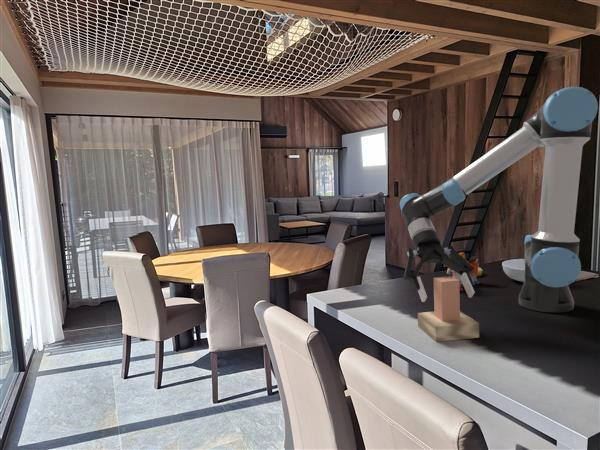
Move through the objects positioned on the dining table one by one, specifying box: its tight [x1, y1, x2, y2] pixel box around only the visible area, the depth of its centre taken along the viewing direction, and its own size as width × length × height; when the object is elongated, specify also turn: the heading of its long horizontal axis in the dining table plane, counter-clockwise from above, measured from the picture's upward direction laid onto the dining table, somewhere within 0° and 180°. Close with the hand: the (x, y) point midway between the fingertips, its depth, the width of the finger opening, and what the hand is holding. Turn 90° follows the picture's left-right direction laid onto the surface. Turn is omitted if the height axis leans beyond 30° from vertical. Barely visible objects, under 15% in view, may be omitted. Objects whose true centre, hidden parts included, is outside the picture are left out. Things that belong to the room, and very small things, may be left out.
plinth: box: [417, 311, 480, 343], centre depth 112 cm, size 12×12×4 cm
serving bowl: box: [501, 258, 525, 283], centre depth 159 cm, size 21×21×7 cm
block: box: [433, 275, 461, 321], centre depth 112 cm, size 5×5×11 cm
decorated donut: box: [476, 267, 484, 278], centre depth 175 cm, size 10×11×4 cm
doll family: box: [446, 252, 480, 292], centre depth 158 cm, size 21×10×13 cm, turn 132°
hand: (448, 297), depth 110 cm, fingers open, 13 cm apart
